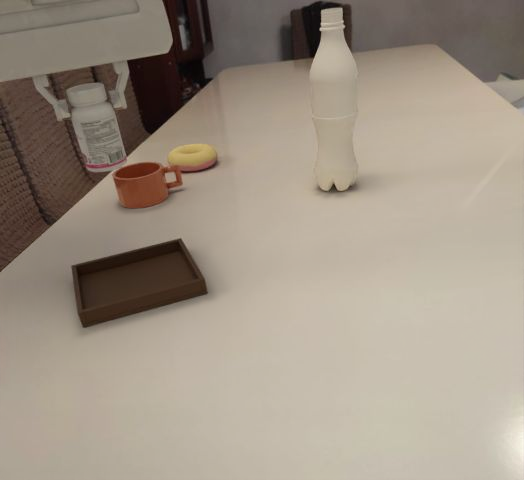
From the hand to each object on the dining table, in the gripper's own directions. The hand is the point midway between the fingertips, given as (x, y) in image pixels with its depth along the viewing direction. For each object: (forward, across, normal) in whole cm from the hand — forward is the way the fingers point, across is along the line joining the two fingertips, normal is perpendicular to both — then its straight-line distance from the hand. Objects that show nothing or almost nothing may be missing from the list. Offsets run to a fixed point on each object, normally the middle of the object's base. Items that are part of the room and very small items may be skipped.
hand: (92, 114), depth 58 cm
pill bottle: (+6, 0, 0) cm, 6 cm away
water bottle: (+21, -36, -14) cm, 43 cm away
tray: (+20, 0, +2) cm, 21 cm away
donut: (+21, -18, -41) cm, 49 cm away
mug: (+20, -7, -29) cm, 36 cm away
